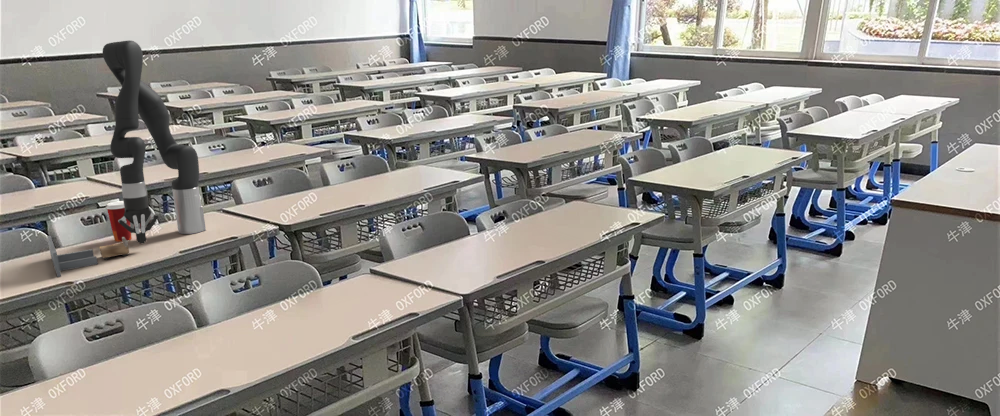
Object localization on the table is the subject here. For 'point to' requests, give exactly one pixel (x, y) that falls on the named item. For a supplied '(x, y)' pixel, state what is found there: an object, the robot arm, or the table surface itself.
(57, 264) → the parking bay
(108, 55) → the robot arm
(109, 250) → the walnut cart
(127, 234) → the paper cup
